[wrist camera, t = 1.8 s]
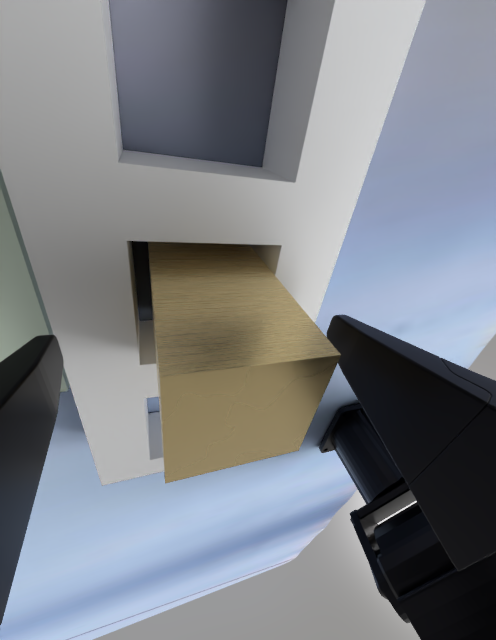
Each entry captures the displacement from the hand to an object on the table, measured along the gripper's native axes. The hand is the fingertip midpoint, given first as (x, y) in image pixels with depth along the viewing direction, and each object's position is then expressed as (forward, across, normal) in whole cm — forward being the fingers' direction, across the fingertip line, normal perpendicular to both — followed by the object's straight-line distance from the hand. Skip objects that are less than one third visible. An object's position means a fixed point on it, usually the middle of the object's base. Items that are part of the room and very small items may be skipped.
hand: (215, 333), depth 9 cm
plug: (+5, 0, 0) cm, 5 cm away
